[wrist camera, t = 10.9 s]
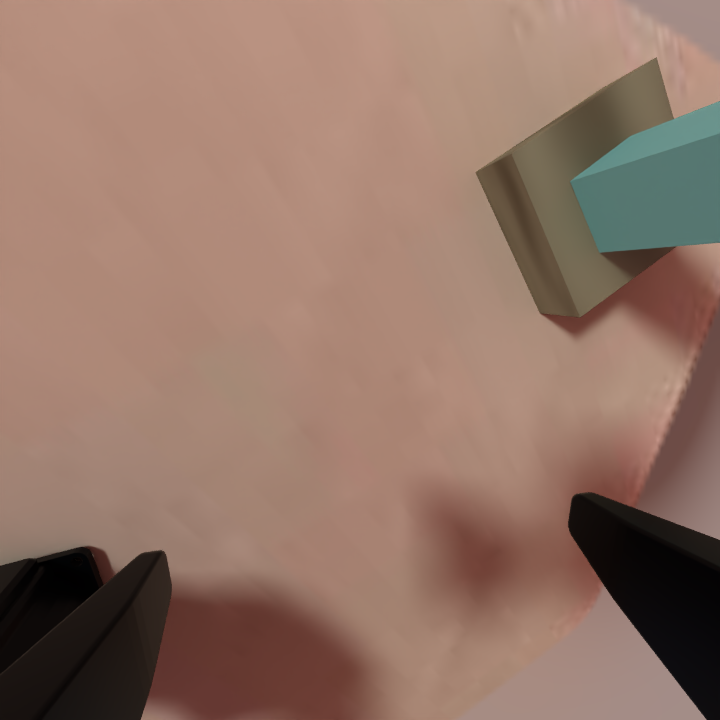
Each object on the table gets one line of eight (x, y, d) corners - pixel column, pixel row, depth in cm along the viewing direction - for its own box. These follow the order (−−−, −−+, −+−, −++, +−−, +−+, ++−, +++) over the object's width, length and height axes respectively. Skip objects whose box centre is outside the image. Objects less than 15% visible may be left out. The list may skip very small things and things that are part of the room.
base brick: (534, 312, 23) (580, 317, 20) (471, 174, 21) (511, 153, 17) (643, 234, 24) (703, 226, 21) (595, 92, 22) (656, 57, 18)
